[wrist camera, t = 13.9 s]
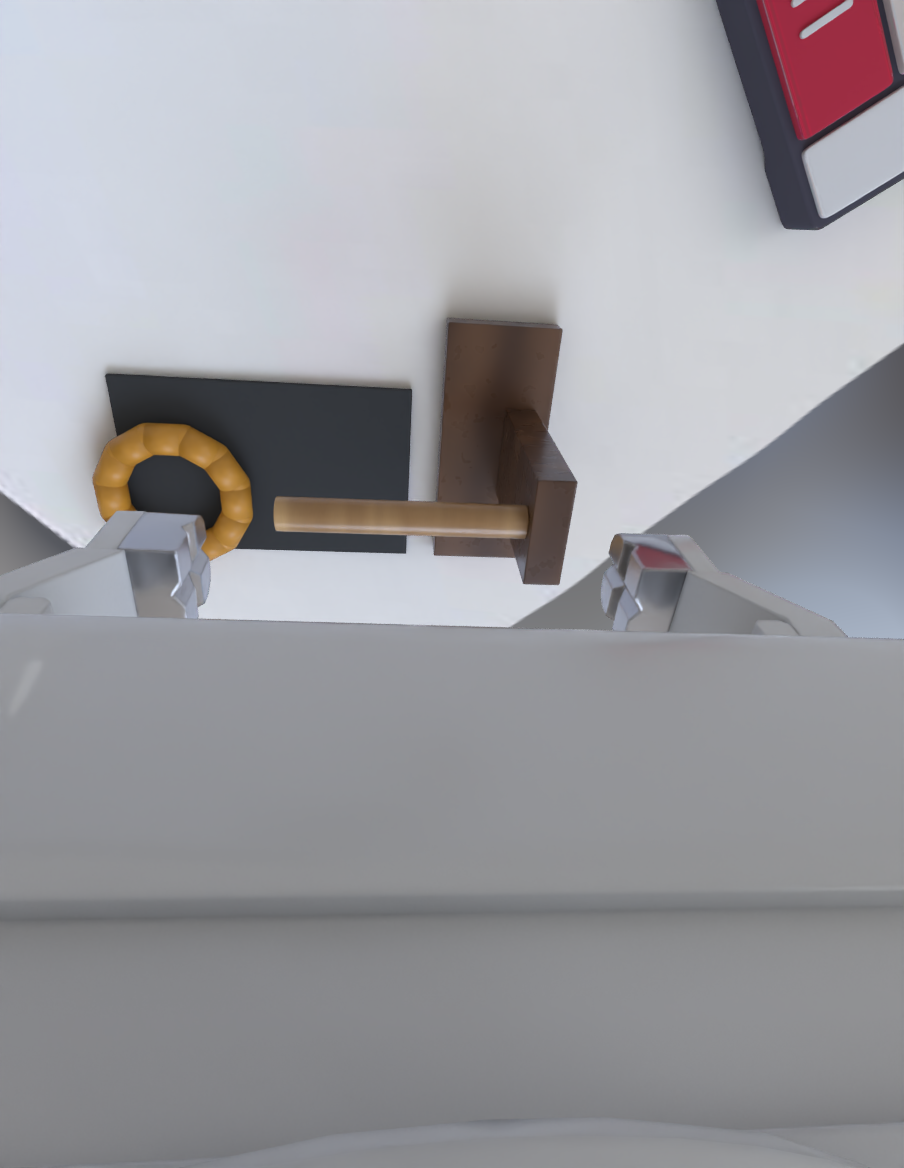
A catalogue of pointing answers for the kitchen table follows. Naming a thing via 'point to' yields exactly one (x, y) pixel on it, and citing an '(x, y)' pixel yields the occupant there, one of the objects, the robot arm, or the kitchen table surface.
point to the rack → (479, 459)
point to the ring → (191, 447)
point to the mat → (273, 450)
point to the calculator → (822, 99)
